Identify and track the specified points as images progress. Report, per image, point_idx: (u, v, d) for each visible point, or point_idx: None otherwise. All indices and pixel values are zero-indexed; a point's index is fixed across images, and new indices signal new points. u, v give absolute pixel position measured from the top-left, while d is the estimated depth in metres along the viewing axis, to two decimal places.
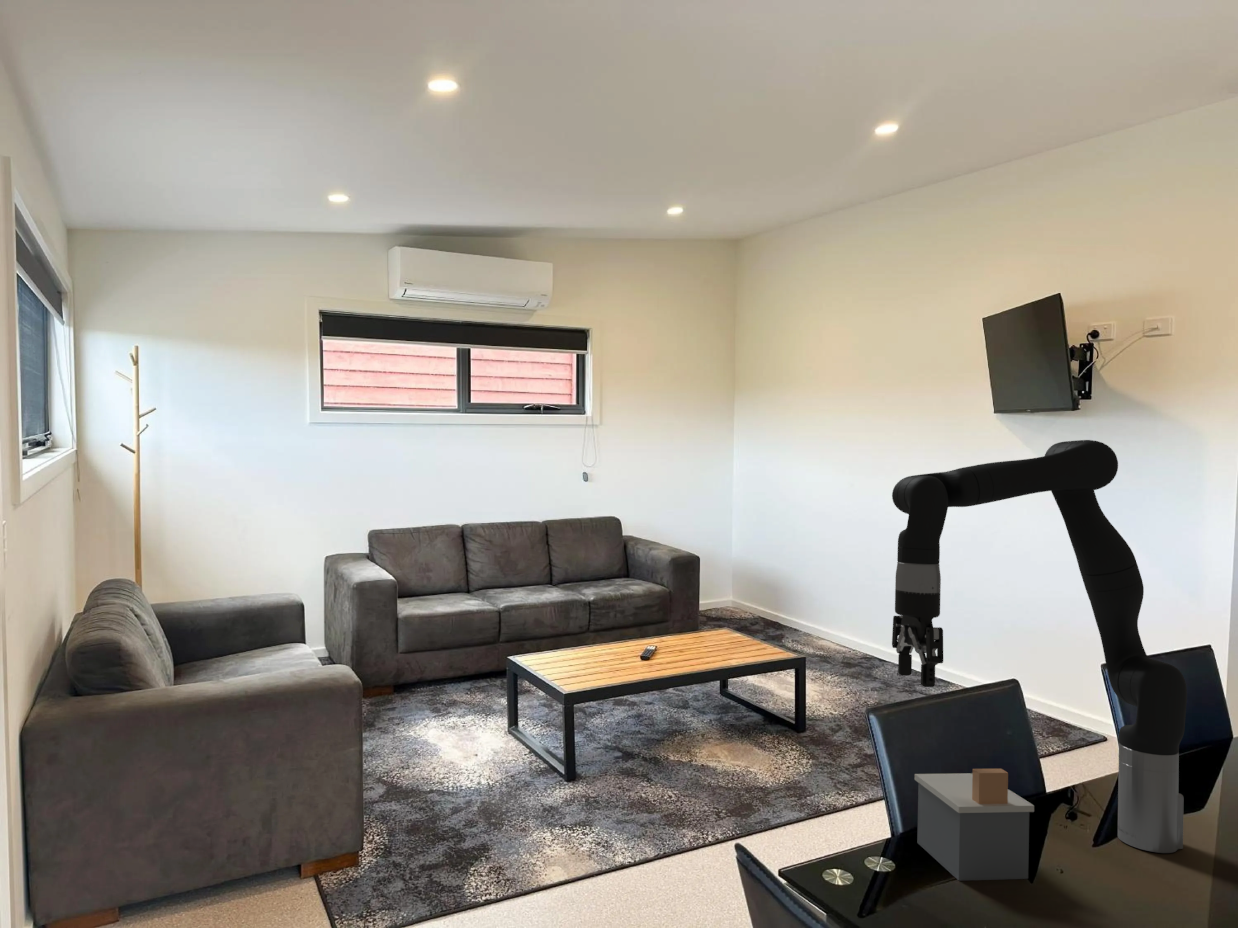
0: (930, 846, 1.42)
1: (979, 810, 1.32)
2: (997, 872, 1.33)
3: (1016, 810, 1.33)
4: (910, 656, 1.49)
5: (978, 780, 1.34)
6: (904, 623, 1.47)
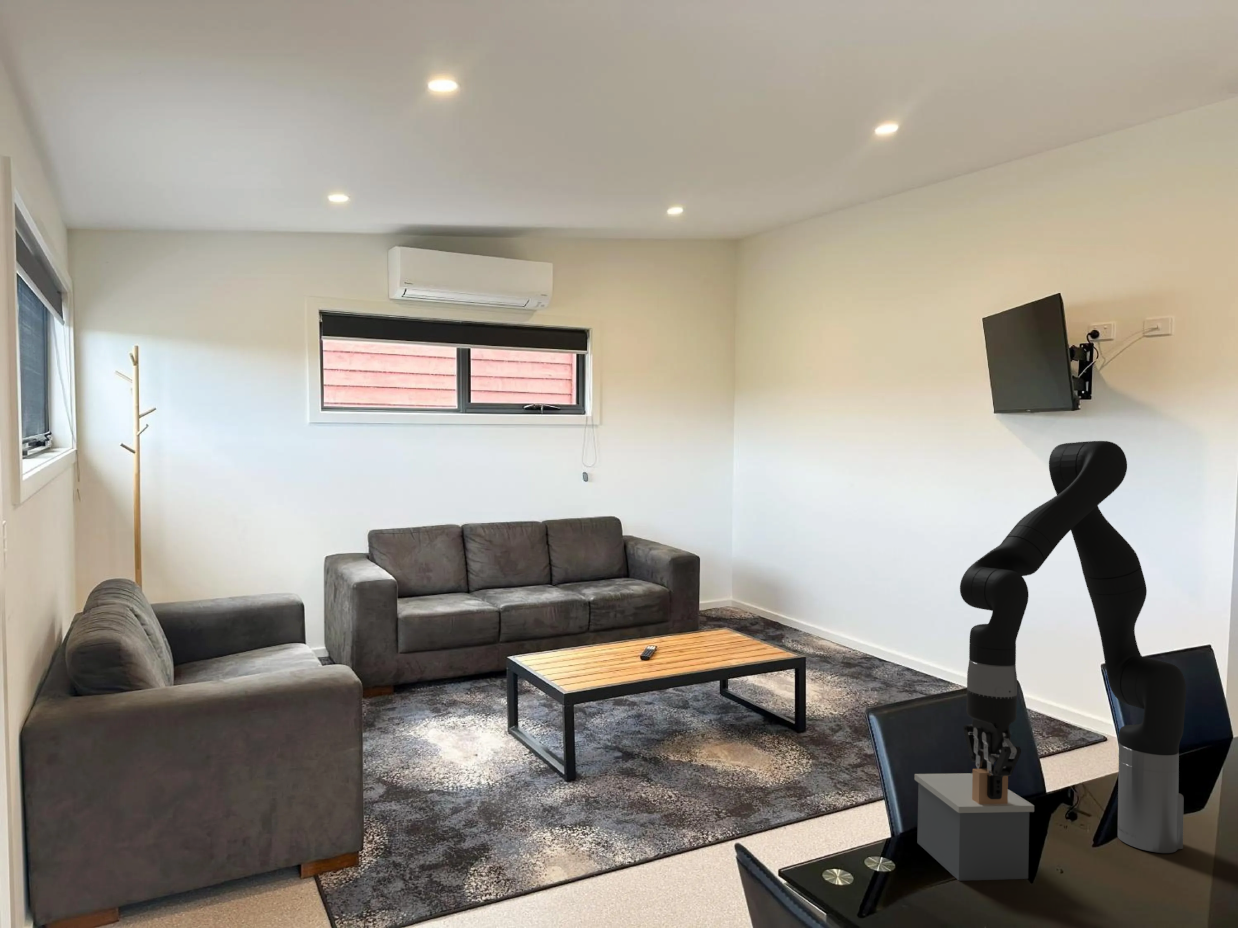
0: (930, 846, 1.42)
1: (979, 810, 1.32)
2: (997, 872, 1.33)
3: (1016, 810, 1.33)
4: None
5: (978, 780, 1.34)
6: None
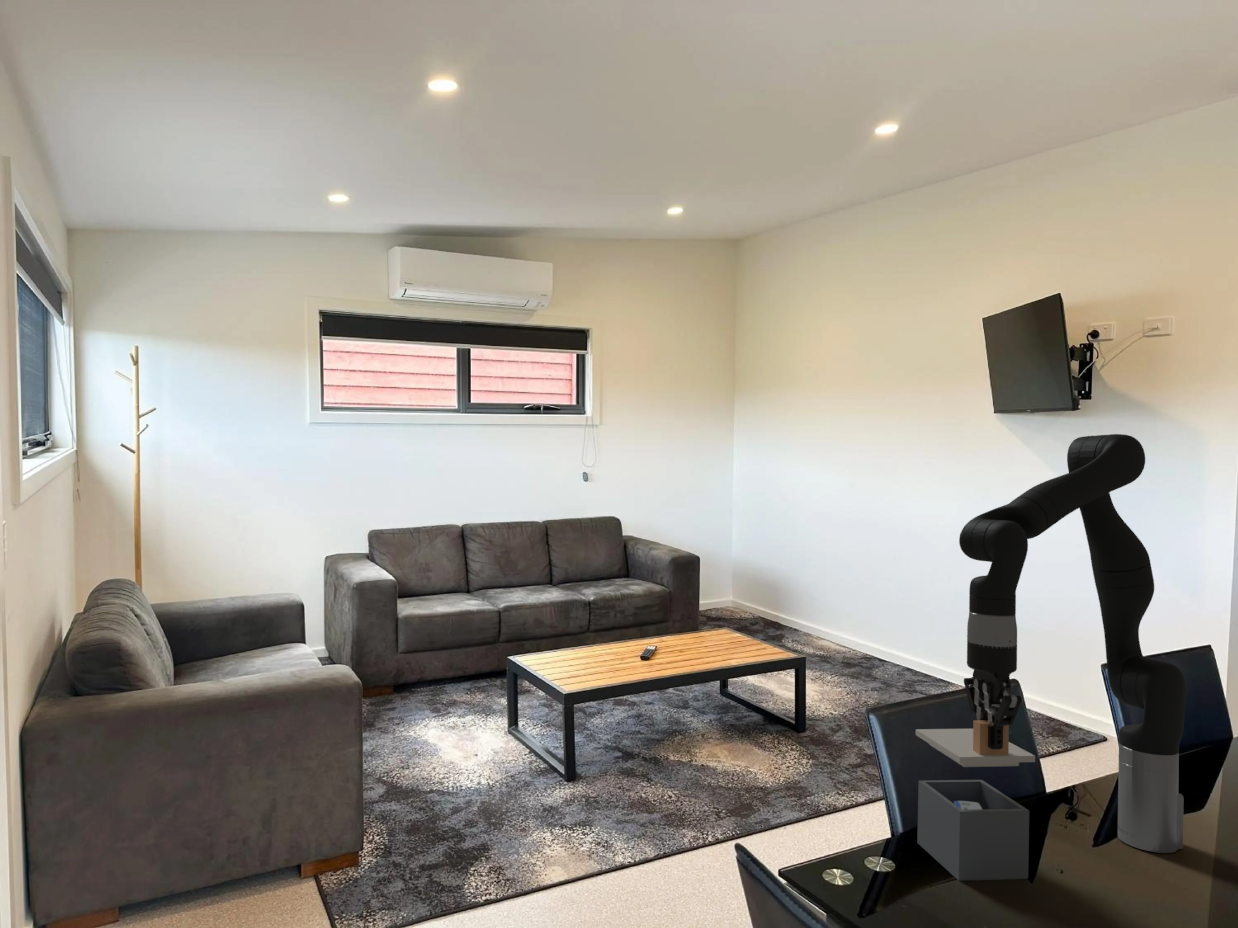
0: (930, 846, 1.42)
1: (980, 760, 1.33)
2: (997, 872, 1.33)
3: (1017, 760, 1.33)
4: None
5: (979, 731, 1.34)
6: None
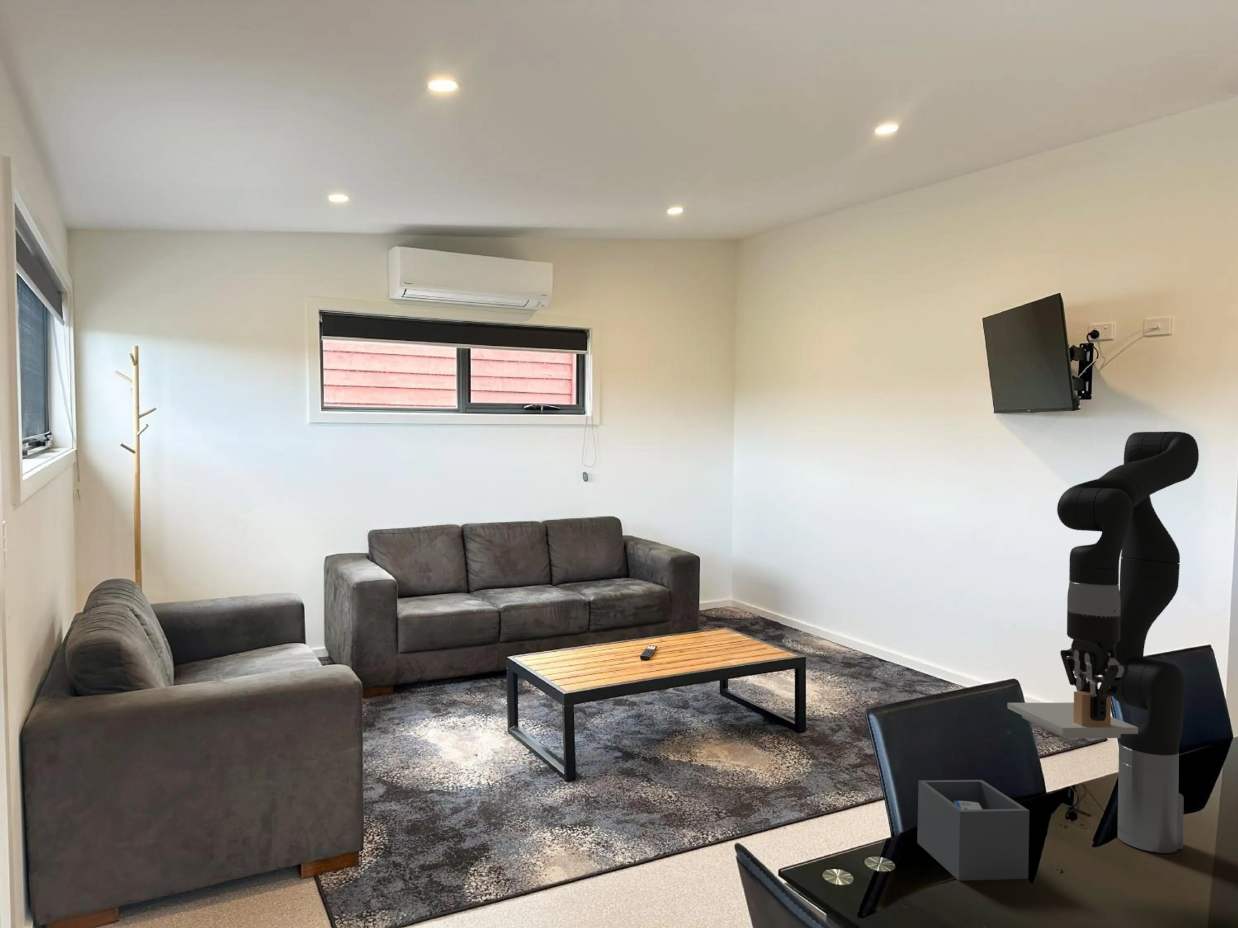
0: (930, 846, 1.42)
1: (1083, 731, 1.31)
2: (997, 872, 1.33)
3: (1120, 732, 1.31)
4: None
5: (1081, 702, 1.32)
6: None
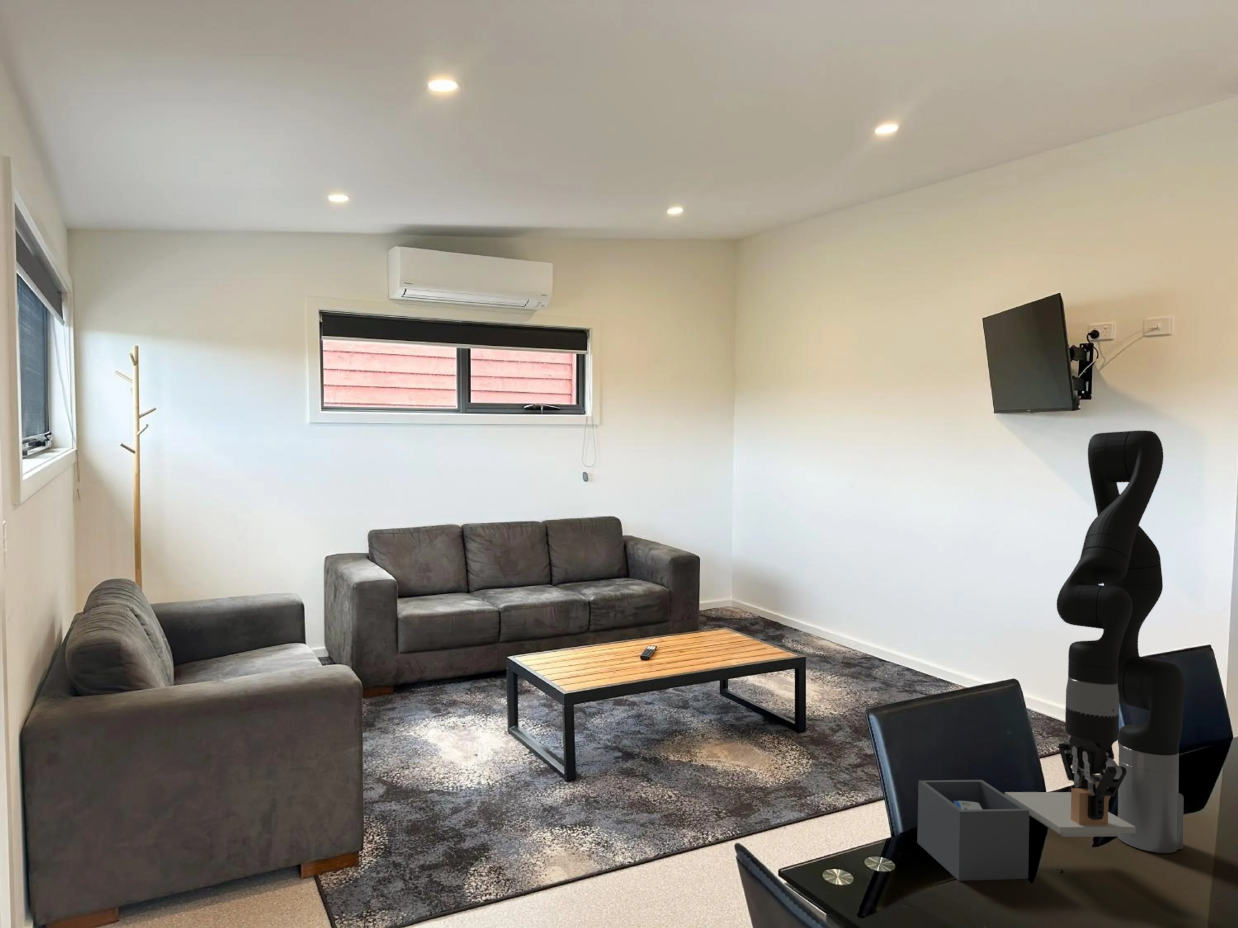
0: (930, 846, 1.42)
1: (1080, 831, 1.30)
2: (997, 872, 1.33)
3: (1117, 831, 1.31)
4: None
5: (1078, 800, 1.32)
6: None
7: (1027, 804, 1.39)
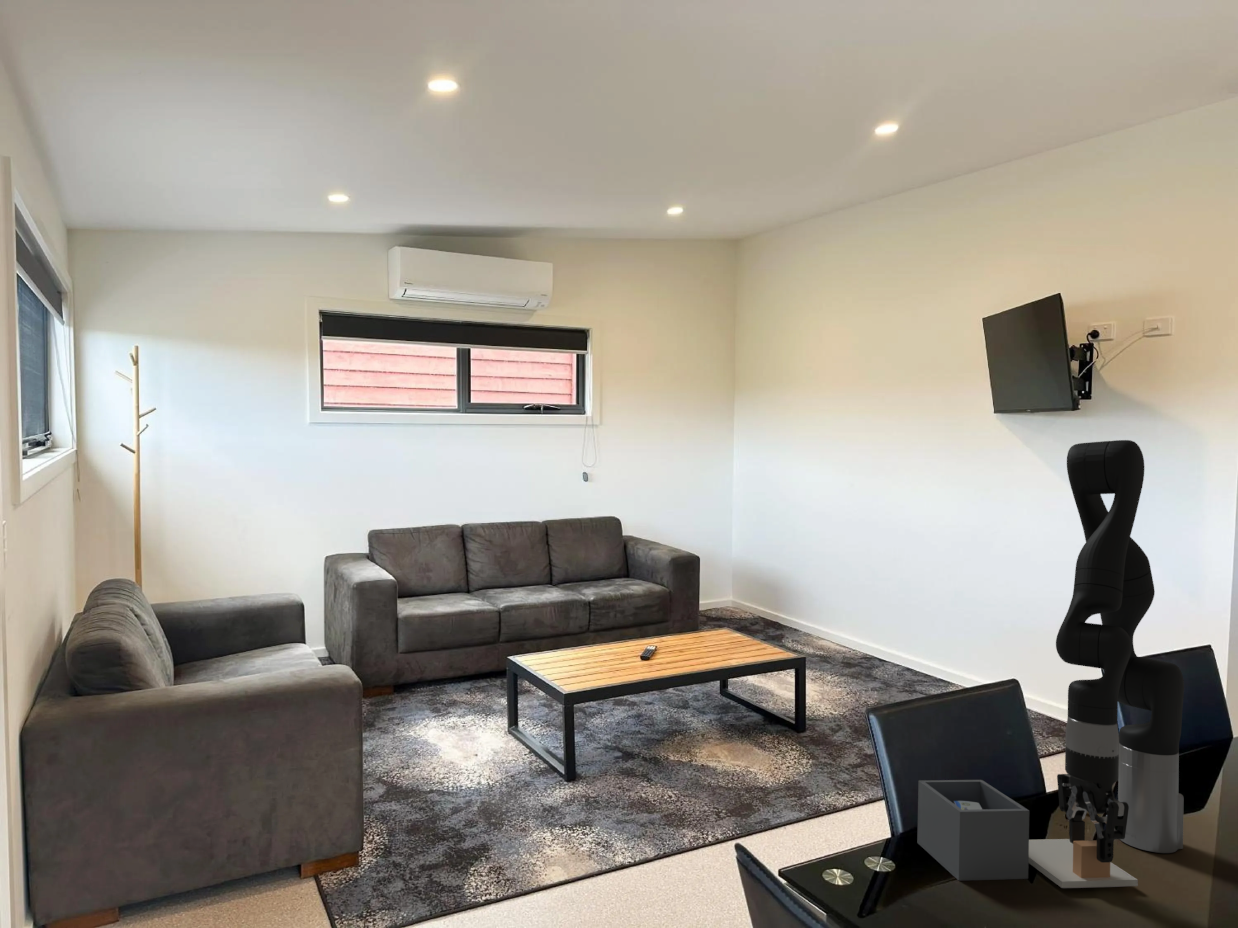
0: (930, 846, 1.42)
1: (1082, 885, 1.29)
2: (997, 872, 1.33)
3: (1119, 884, 1.30)
4: (1083, 823, 1.35)
5: (1080, 853, 1.31)
6: (1074, 784, 1.35)
7: (1029, 854, 1.38)
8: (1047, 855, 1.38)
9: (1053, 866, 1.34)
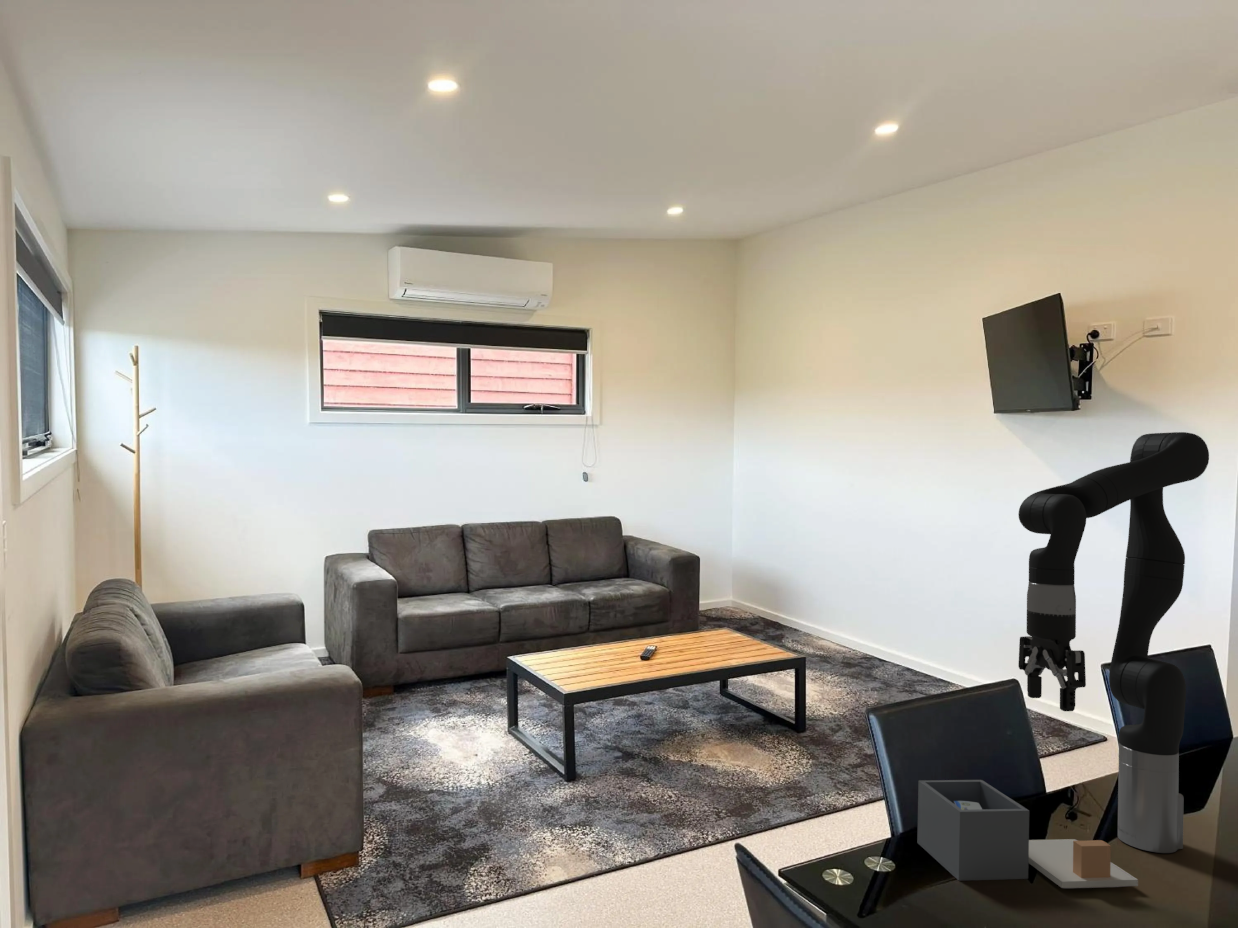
0: (930, 846, 1.42)
1: (1082, 885, 1.29)
2: (997, 872, 1.33)
3: (1120, 884, 1.30)
4: (1040, 678, 1.45)
5: (1080, 853, 1.31)
6: (1035, 645, 1.44)
7: (1029, 854, 1.38)
8: (1047, 855, 1.38)
9: (1053, 866, 1.34)
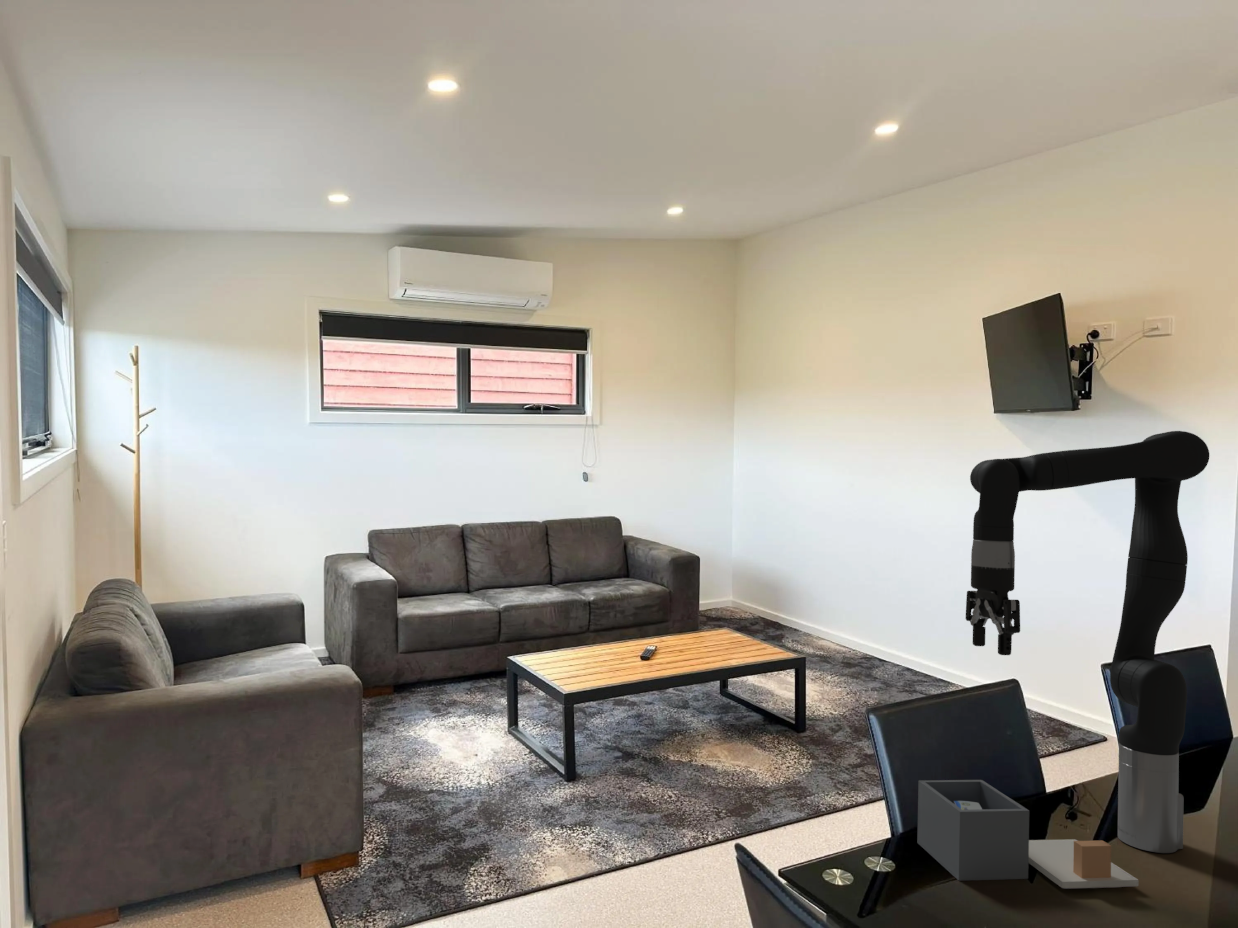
0: (930, 846, 1.42)
1: (1083, 885, 1.29)
2: (997, 872, 1.33)
3: (1120, 885, 1.30)
4: (984, 628, 1.59)
5: (1081, 854, 1.31)
6: (979, 597, 1.58)
7: (1029, 855, 1.38)
8: (1048, 855, 1.38)
9: (1054, 866, 1.34)
